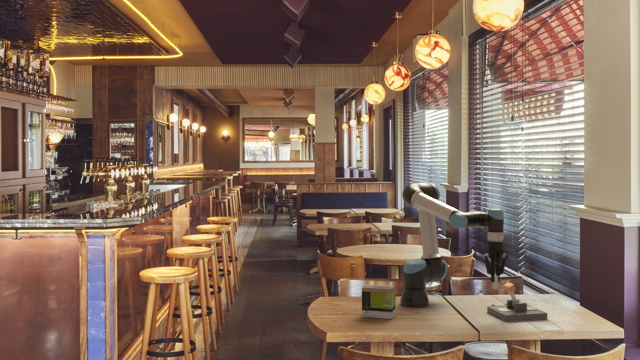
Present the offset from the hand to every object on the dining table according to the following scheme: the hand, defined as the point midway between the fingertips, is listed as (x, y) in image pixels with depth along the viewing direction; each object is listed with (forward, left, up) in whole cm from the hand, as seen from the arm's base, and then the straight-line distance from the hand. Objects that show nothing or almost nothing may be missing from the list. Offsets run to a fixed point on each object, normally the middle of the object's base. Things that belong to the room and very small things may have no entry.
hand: (495, 288), depth 287 cm
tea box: (-55, +13, -14) cm, 58 cm away
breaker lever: (+12, 0, -10) cm, 16 cm away
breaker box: (+12, +4, -14) cm, 19 cm away
